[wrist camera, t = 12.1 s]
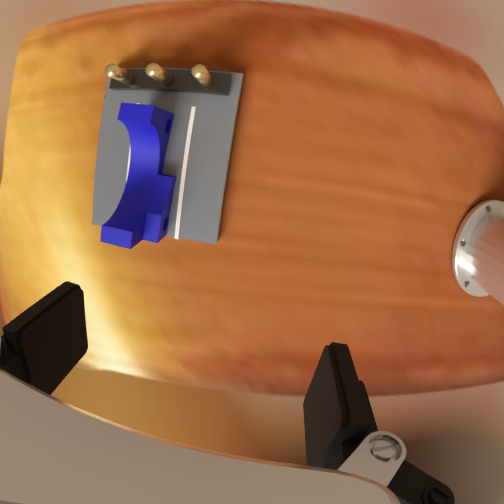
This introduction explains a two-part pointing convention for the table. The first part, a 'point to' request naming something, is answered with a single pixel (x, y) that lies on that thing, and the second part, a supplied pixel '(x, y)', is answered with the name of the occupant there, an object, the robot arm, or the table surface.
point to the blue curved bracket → (143, 179)
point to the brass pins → (169, 79)
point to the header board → (173, 155)
